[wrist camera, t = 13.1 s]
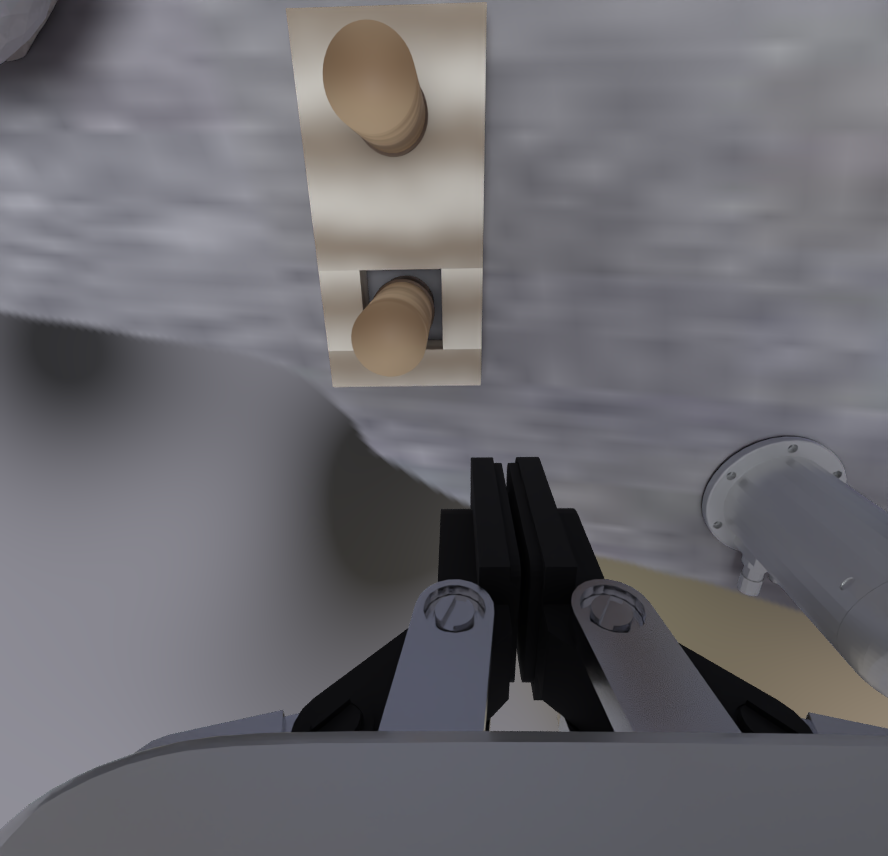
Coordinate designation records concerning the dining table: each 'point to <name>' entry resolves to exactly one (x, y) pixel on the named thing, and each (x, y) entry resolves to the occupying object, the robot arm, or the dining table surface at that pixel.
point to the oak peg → (394, 327)
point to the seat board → (395, 168)
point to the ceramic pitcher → (21, 25)
